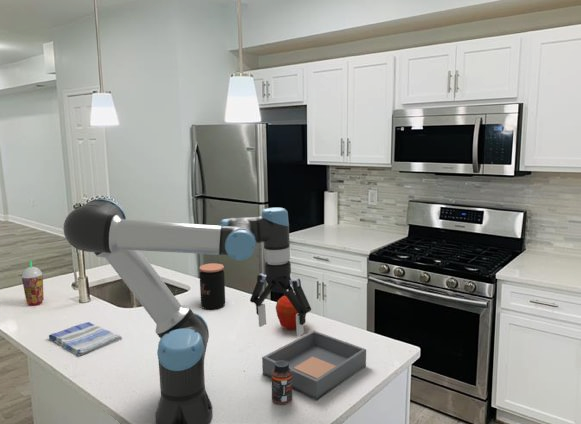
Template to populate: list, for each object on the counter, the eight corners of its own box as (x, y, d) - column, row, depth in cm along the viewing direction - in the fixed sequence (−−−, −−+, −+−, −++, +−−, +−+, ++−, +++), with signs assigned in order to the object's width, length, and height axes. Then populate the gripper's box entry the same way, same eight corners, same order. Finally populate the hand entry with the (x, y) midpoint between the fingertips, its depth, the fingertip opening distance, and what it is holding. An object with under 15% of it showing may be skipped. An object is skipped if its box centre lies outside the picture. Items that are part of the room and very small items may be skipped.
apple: (280, 336, 176) (279, 301, 173) (272, 324, 187) (272, 290, 185) (311, 332, 179) (311, 297, 176) (302, 320, 190) (302, 287, 188)
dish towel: (79, 359, 161) (78, 351, 161) (47, 340, 176) (46, 333, 175) (124, 341, 175) (123, 333, 174) (90, 325, 189) (90, 318, 188)
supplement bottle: (290, 406, 132) (289, 369, 130) (269, 404, 133) (268, 367, 131) (294, 394, 138) (293, 359, 136) (274, 392, 139) (273, 357, 137)
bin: (316, 400, 135) (316, 381, 134) (262, 374, 149) (262, 357, 148) (365, 366, 154) (366, 349, 153) (313, 346, 168) (313, 330, 167)
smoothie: (20, 306, 208) (15, 262, 204) (35, 299, 216) (30, 257, 212) (35, 308, 206) (30, 264, 202) (50, 301, 213) (45, 259, 210)
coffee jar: (198, 303, 209) (196, 265, 206) (221, 299, 214) (220, 262, 211) (204, 312, 200) (202, 271, 197) (228, 307, 204) (227, 268, 201)
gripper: (321, 262, 132) (323, 333, 136) (251, 253, 145) (255, 317, 149) (307, 270, 126) (310, 343, 130) (235, 259, 139) (240, 326, 143)
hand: (280, 329), depth 140 cm, fingers open, 13 cm apart
